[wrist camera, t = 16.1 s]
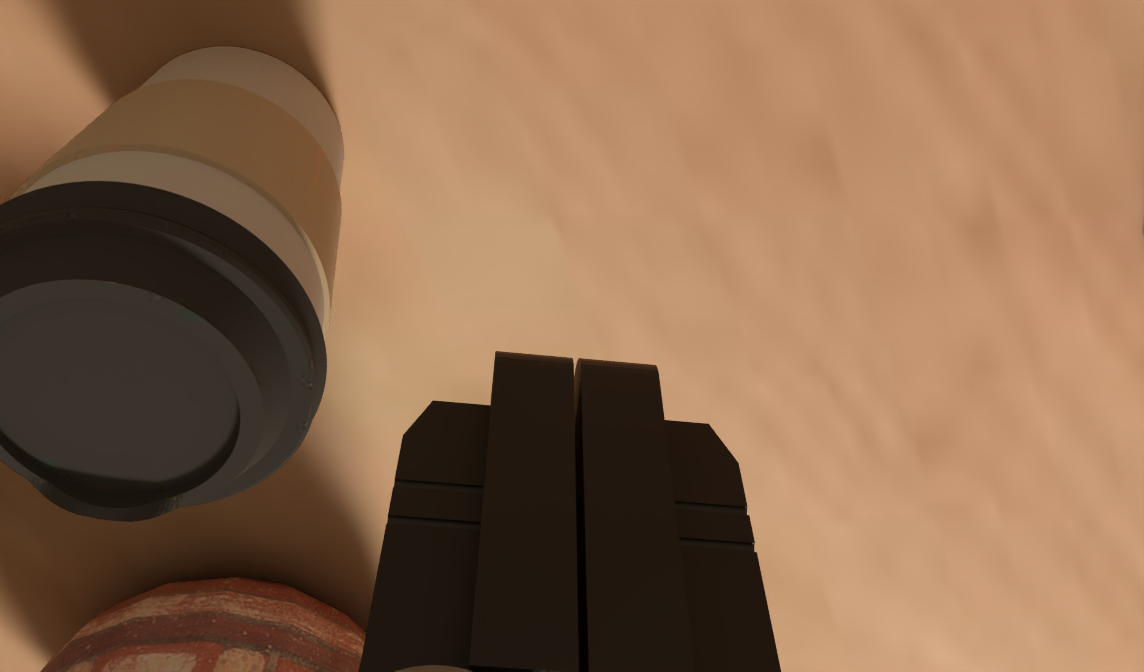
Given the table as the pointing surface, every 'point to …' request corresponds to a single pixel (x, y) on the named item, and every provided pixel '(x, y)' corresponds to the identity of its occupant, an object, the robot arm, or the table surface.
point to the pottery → (216, 632)
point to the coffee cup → (172, 290)
